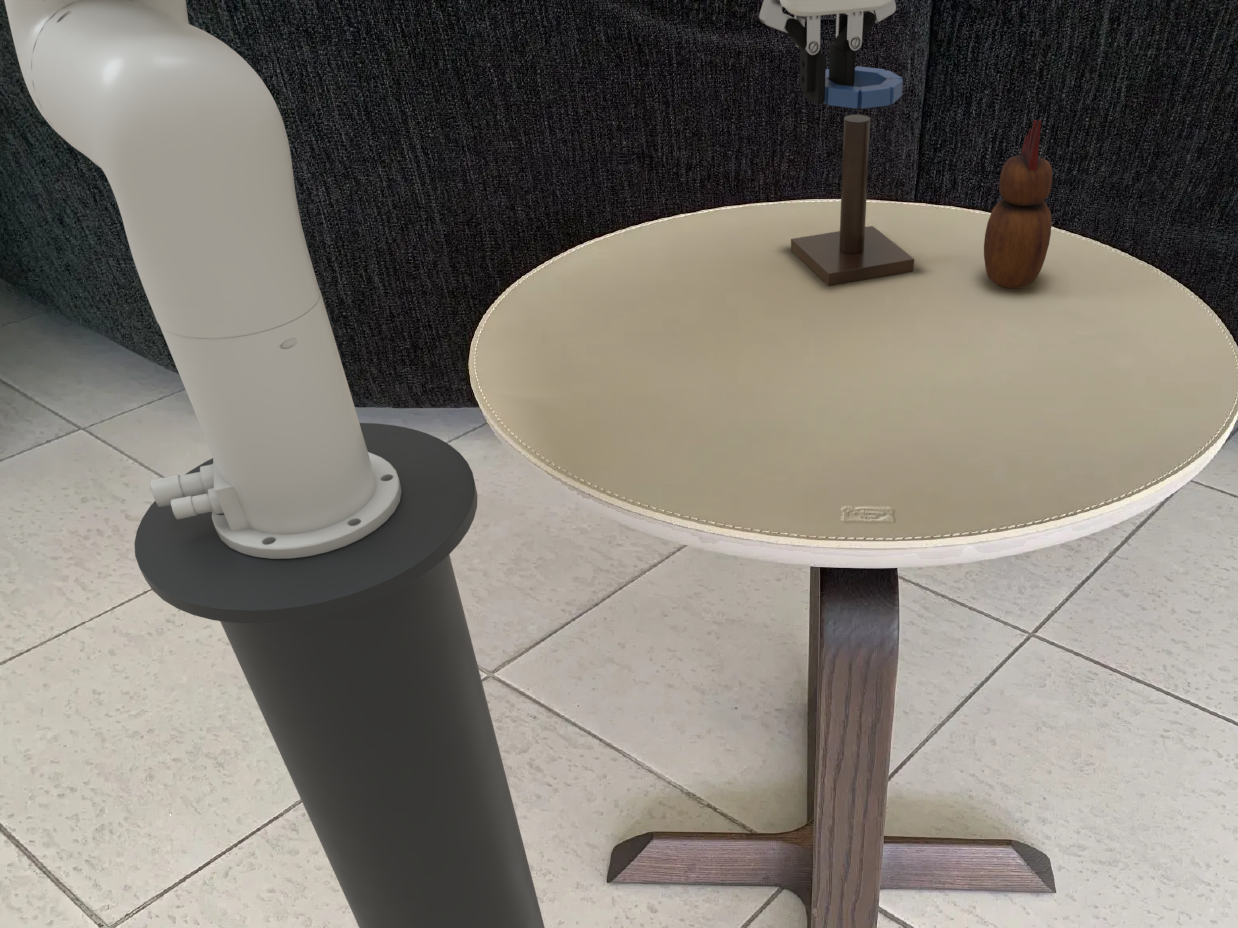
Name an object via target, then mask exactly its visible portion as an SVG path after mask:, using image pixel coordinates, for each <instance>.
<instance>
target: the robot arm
mask: <svg viewBox="0 0 1238 928" xmlns="http://www.w3.org/2000/svg"><path fill="white" fill-rule="evenodd" d="M3 1H4V5H5V9H6V10H5V11H6V14H7V18H8V19H7V20H8V24H9V28H10V32H11V36H12V41H13V45H14V48H15V49H14V50H15V53H16V57H17V60H18V63H19V67H20V71H21V74H22V78H23V80H24V83H25V85H26V88H27V91H28V93H29V95H30V97H31V99H32V101H33V103H34V105H35V107H36V108H37V110H38V111H39V113H40V114H41V116H42V117H43V119H44V120H46V122H47V124H48V125H49V126H50V127H51V128H52V130H54V132H56V133H57V134H58V135H59V136H60V137H61V138H62V139H63V140H64V141H65V142H67V143H68V144H69V145H70V146H71V147H73V148H74V149H76V150H77V152H80V153H81V154H82V155H84V156H85V157H86V158H88V159H89V160H90V161H91V162H92V163H94V165H96V166H98V168H100V169H101V170H102V172H103V173H104V175H105V177H106V179H107V182H108V184H109V186H110V188H111V190H112V193H113V195H114V198H115V200H116V203H117V206H118V207H117V208H118V209H119V213H120V216H121V219H122V224H123V228H124V231H125V235H126V239H127V242H128V246H129V250H130V253H131V256H132V259H133V262H134V265H135V268H136V271H137V274H138V277H139V280H140V283H141V285H142V288H143V291H144V293H145V295H146V297H147V300H148V303H149V305H150V307H151V310H152V313H153V315H154V318H155V320H156V322H157V324H158V325H159V327H160V330H161V333H162V335H163V337H164V340H165V342H166V345H167V347H168V350H169V352H170V355H171V357H172V360H173V362H174V364H175V367H176V369H177V372H178V375H179V377H180V379H181V381H182V384H183V387H184V390H185V392H186V394H187V396H188V399H189V402H190V404H191V406H192V409H193V411H194V413H195V416H196V419H197V421H198V424H199V426H200V429H201V431H202V433H203V436H204V438H205V441H206V443H207V446H208V448H209V451H210V453H211V456H212V458H213V464H211V465H207V466H201V467H200V472H197V473H192V474H187V475H185V474H182V475H180V474H177V475H170V476H166V477H161V478H154V479H151V480H150V489H151V493H152V495H153V498H154V501H156V503H157V505H158V506H159V507H165V506H170V505H171V507H172V510H173V513H174V516H175V517H176V519H177V520H178V519H183V518H188V517H193V516H197V515H198V514H202V513H207V512H212V520H213V523H214V526H215V528H216V531H217V533H218V535H219V537H220V538H221V540H222V541H223V542H224V543H225V544H227V545H228V546H229V547H230V548H232V549H234V550H236V551H238V552H240V553H243V554H247V555H250V556H254V557H260V558H269V559H293V558H302V557H309V556H314V555H318V554H323V553H327V552H330V551H333V550H336V549H339V548H342V547H345V546H347V545H349V544H352V543H354V542H356V541H358V540H360V539H362V538H364V537H365V536H367V535H369V534H370V533H372V532H373V531H375V530H376V529H377V528H379V527H380V526H381V525H382V524H383V523H385V522H386V521H387V520H388V519H389V517H390V516H391V515H392V514H393V513H394V512H395V510H396V508H397V506H398V504H399V502H400V498H401V493H402V491H401V485H400V481H399V478H398V475H397V472H396V470H395V469H394V468H393V466H392V465H391V464H390V463H389V462H387V461H386V460H384V459H383V458H382V457H379V456H377V455H374V454H372V453H370V452H368V451H367V447H366V444H365V441H364V437H363V434H362V431H361V427H360V424H359V423H360V421H359V417H358V414H357V410H356V407H355V404H354V400H353V397H352V393H351V390H350V387H349V383H348V380H347V377H346V373H345V370H344V367H343V366H344V365H343V364H342V359H341V356H340V352H339V349H338V347H337V346H338V345H337V342H336V340H335V335H334V332H333V329H332V326H331V322H330V319H329V315H328V312H327V309H326V305H325V301H324V298H323V296H322V295H323V294H322V292H321V290H320V286H319V284H318V280H317V276H316V273H315V270H314V267H313V262H312V259H311V256H310V252H309V249H308V245H307V241H306V237H305V233H304V229H303V226H302V221H301V216H300V211H299V204H298V199H297V192H296V188H295V187H296V184H295V177H294V170H293V162H292V154H291V148H290V142H289V138H288V134H287V131H286V127H285V123H284V120H283V116H282V114H281V113H280V109H279V107H278V105H277V103H276V101H275V99H274V97H273V95H272V94H271V92H270V89H268V87H267V85H266V84H265V82H264V80H263V79H262V78H261V77H260V76H259V74H258V73H257V71H255V69H254V68H253V67H252V66H251V65H250V64H249V63H248V62H247V61H246V60H245V59H244V57H242V56H241V55H240V54H239V53H238V52H236V51H235V50H234V49H233V48H232V47H230V46H229V45H227V44H226V43H225V42H223V40H220V39H219V38H217V37H216V36H214V35H212V34H210V33H209V32H207V31H205V30H203V29H201V28H199V27H197V26H194V25H192V24H190V22H189V16H188V8H187V7H188V6H187V1H186V0H3ZM761 4H762V5H761V8H760V11H759V14H758V19H759V21H760V22H761V23H762V24H765V25H766V26H767V27H770V28H772V29H775V30H777V31H781V32H783V33H785V34H786V36H788V37H789V38H790V40H791V41H792V42H793V43H794V45H795V47H797V48H799V88H800V90H801V92H802V95H803V97H804V98H805V99H807V100H808V101H810V102H811V103H813V104H814V105H816V106H818V105H824V104H823V102H825V74H826V69H827V68H826V67H827V58H826V55H825V54H824V53H823V52H821V50H822V49H821V48H822V47H821V16H829V15H836V16H835V17H836V19H835V38H834V42H833V43H830V46H829V49H828V50H829V54H828V55H829V56H828V69H829V77H830V80H831V81H832V82H834V83H836V84H837V85H845V86H854V78H855V67H856V52H857V51H858V50H860V48H862V44H863V40H864V38H865V37H866V36H867V35H868V33H869V32H870V31H871V30H872V28H874V26H875V24H877V23H880V22H881V21H883V20H885V19H887V18H888V17H890V16H891V15H894V14H895V12H896V10H897V3H896V0H763V2H762V3H761ZM783 8H784V9H785V10H786V11H787V12H788V13H790V14H791V15H793V16H794V17H793V16H791V15H790V14H786V13H784V12H783Z"/></svg>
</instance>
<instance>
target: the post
mask: <svg viewBox="0 0 1238 928" xmlns="http://www.w3.org/2000/svg"><path fill="white" fill-rule="evenodd" d="M842 131H843V133H842V158H841V160H842V161H841V186H840V187H841V188H840V189H841V190H840V217H839V218H840V219H839V220H840V221H839V230H838V231H837V230H836V231H832V232H825V233H819V234H814V235H807V236H800V237H794V238H791V239H790V251H791V252H792V253H793V254H794V255H795V256H796V257H797V258H798V259H799V260H801V262H802V263H804V264H805V265H806V266H807V267H808V268H809V269H810V270H811V271H812V272H813V273H814V274H815V275H816V276H817V277H818V278H819V279H820V280H822V281H823V282H824V283H825V284H826V285H827V286H828V287H830V286H834V285H840V284H841V285H842V284H847V283H852V282H853V283H854V282H857V281H858V282H859V281H864V280H868V279H875V278H880V277H886V276H891V275H898V274H903V273H908V272H913V271H914V268H915V258H914V257H912V255H910V254H909V253H908V252H906V251H905V250H903V248H901V247H900V246H898V245H897V244H896V243H895V242H894V241H892V240H891V239H890V238H888V237H887V236H886V235H885V234H883V233H882V232H881V231H880V230H879V229H877V228H876V227H875V226H873V225H870V226H866V218H867V215H866V214H867V198H868V179H869V178H868V176H869V158H870V141H871V140H870V139H871V137H870V136H871V118H870V117H869V116H867V115H865V114H849V115H846V116H844V118H843V130H842Z"/></svg>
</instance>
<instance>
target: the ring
mask: <svg viewBox="0 0 1238 928" xmlns="http://www.w3.org/2000/svg"><path fill="white" fill-rule="evenodd" d="M903 85H904V79H903V77H902V76H900V75H898V74H897V73H895V72H893V71H891V70H889V69H888V70H886V69H885V68H877V67H866V66H860V65H857V66H855V78H854V86H845V85H837V84H836V83H834V82H832V81H831V80H830V77H829V68H826V74H825V102H823V104H822V105H827V106H831V107H838V108H839V107H841V108H847V109H855V110H857V109H858V108H860V109H862V110H864V109H871V108H872V109H873V108H881V107H886V106H887V107H888V106H891V105H894V104H895V103H896V102H897V101H898V100H900V98H901V97H903V88H904V86H903Z"/></svg>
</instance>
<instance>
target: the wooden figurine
mask: <svg viewBox="0 0 1238 928" xmlns="http://www.w3.org/2000/svg"><path fill="white" fill-rule="evenodd" d="M1041 126H1042V120H1041V119H1038V120H1037V119H1034V120H1033V121H1032V127H1031V129H1028V133H1027V135H1025V136H1024V140H1023V144H1022V147H1021V152H1020V154H1019V155H1014V156H1012V157H1010V158H1008V159H1007V160H1006V161H1005V162H1004V164H1003V165H1002V167H1001V171H1000V176H999V183H998V190H999V194H1000V196H1001V197H1002V199H1000V200H999V201H998V202H997V203H996V204H995V206H994V207H993V208H992V210H991V212H990V215H989V217H988V220H987V224H986V228H985V233H984V241H983V259H984V267H985V271H986V275H987V277H988V279H989V280H990V281H991V282H993V284H995V285H996V286H1000V287H1002V288H1007V289H1021V288H1025V287H1027V286H1030V285H1031V284H1032V283H1033V282H1035V281H1036V280H1037V279H1038V277H1039V275H1040V273H1041V271H1042V268H1043V266H1044V264H1045V260H1046V257H1047V253H1048V250H1049V246H1050V241H1051V235H1052V224H1053V223H1052V222H1053V221H1052V213H1051V210H1050V208H1049V206H1048V204H1047V202H1046V201H1045V200H1046V199H1048V198H1049V195H1050V194H1051V190H1052V184H1053V169H1052V166H1051V163H1050V162H1049V161H1048V159H1047V160H1046V159H1045V158H1043V157H1040V156H1039V151H1040V150H1039V148H1040V140H1041V139H1040V138H1041V129H1042V127H1041Z"/></svg>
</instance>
